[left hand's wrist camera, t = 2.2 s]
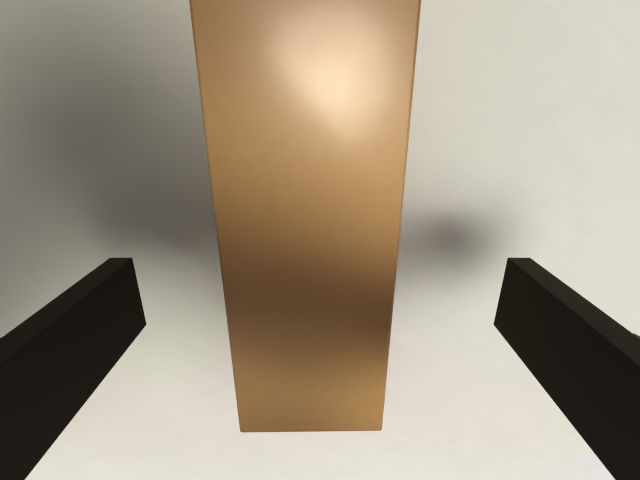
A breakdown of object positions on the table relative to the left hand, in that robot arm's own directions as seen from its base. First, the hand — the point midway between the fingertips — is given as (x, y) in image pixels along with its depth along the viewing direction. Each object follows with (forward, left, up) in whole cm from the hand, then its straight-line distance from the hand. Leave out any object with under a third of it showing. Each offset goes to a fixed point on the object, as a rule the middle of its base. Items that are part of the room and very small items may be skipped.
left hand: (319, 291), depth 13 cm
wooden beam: (-3, +25, -6) cm, 26 cm away
